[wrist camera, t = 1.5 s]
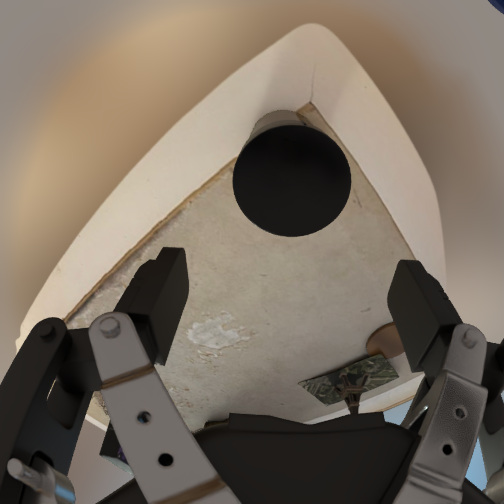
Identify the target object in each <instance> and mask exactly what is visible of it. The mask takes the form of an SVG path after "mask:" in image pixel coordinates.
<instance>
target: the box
mask: <svg viewBox="0 0 504 504" xmlns="http://www.w3.org/2000/svg"><path fill="white" fill-rule="evenodd" d="M100 456H102V457H103V458H105V459H107V460H108V461H110V462H111V463H113V464H114V465H116V466H118V467H119V468H121V469H123V470H124V471H126V472H128V473H129V474H131V475H133V476H134V474H133V472H132V470H131V468H130V466H129V464H128V462H127V459H126V457H125V455H124V453H123V450H122V448H121V445H120V443H119V441H118V438H117V436H116V433H115V431H114V428H113V425H112V423H111V420H110V422H109V425H108V428H107V432H106V435H105V438H104V441H103V444H102V447H101V451H100Z"/></svg>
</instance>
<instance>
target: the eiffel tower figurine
mask: <svg viewBox="0 0 504 504" xmlns="http://www.w3.org/2000/svg"><path fill="white" fill-rule="evenodd" d="M398 377H399V376H398V374H397V373H396V372H395V370H394V369H393V368H392V367H391V365H390V364H389V363H388V362H387V361H386V359H385V358H384V357H383V356H382V354H379V355H376V356H373V357H370V358H367V359H365V360H362V361H359V362H357V363H354V364H352V365H350V366H348V367H346V368H343V369H341V370H338V371H336V372H334V373H331V374H328V375H325V376H322V377H319V378H315V379H312V380H308V381H304V382H301V383H298V384H299V385H301V386H302V387H303V388H304V389H306V390H307V391H308V392H310V393H311V394H312V395H314V396H315V397H316V398H317V399H319V400H320V401H321V402H323V403H324V404H325V405H327V406H328V405H331V404H334V403H337V402H340V401H342V400H345V402H346V404H347V406H348V410H350V413H351V414H358V408H359V406H360V405H359V401H360V396H361V394H362V393H364V392H367V391H369V390H372V389H374V388H376V387H379V386H381V385H383V384H385V383H387V382H390V381H392V380H394V379H396V378H398Z"/></svg>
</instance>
